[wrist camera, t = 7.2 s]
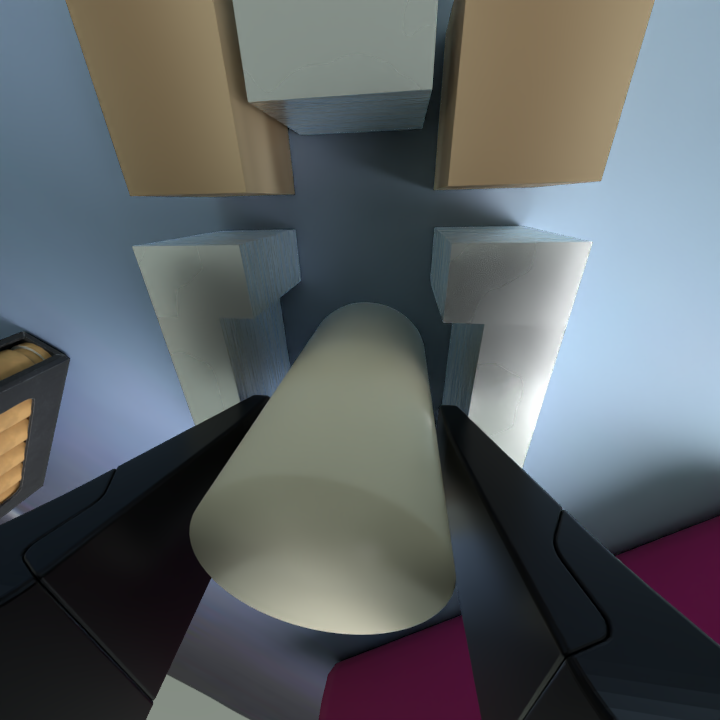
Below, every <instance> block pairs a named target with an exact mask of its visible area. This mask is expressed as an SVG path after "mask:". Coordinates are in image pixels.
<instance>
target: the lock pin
mask: <svg viewBox="0 0 720 720" xmlns="http://www.w3.org/2000/svg"><path fill="white" fill-rule="evenodd" d="M232 1H233V7H234V14H235V20H236V27H237V33H238V40H239V46H240V53H241V59H242V66H243V72H244V79H245V86H246V92H247V99H248V102H249V103H250V104H252V105H253V106H255V107H257V108H258V109H260V110H261V111H263V112H265V113H266V114H268V115H269V116H271V117H273V118H274V119H276V120H277V121H279V122H281V123H282V124H284V125H286V126H287V127H289V128H290V129H292V130H294V131H295V132H297V133H298V134H300V135H318V134H336V133H354V132H372V131H390V130H408V129H422V127H423V123H424V119H425V115H426V112H427V108H428V104H429V100H430V96H431V92H432V86H433V71H434V56H435V41H436V26H437V11H438V0H232Z"/></svg>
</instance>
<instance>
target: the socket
mask: <svg viewBox="0 0 720 720" xmlns="http://www.w3.org/2000/svg"><path fill="white" fill-rule="evenodd" d="M592 243H593V242H591V241H587V240H582V239H578V238H573V237H569V236H564V235H560V234H556V233H551V232H547V231H542V230H538V229H534V228H529V227H525V226H480V227H434V238H433V250H432V262H431V274H430V283H431V287H432V290H433V293H434V296H435V299H436V302H437V306H438V309H439V312H440V315H441V318H442V321H443V323H452V328H451V336H450V344H449V352H448V360H447V368H446V376H445V384H444V393H443V401H442V405H455V406H457V407H459V408H460V409H461V410H462V411H463V412H464V413H465V414H466V415H467V416H468V417H469V418H470V419H471V420H472V421H473V422H474V423H475V424H476V425H477V426H478V427H479V428H480V429H481V430H483V431H484V432H485V433H486V434H487V435H488V436H489V437H490V438H491V439H492V440H493V441H494V442H495V443H496V444H497V445H498V446H499V447H500V448H501V449H502V450H503V451H504V452H505V453H506V454H507V455H509V456H510V457H511V458H512V459H513V460H514V461H515V462H516V463H517V464H518V465H519V466H520V467H521V468H522V467H523V464H524V461H525V458H526V454H527V451H528V448H529V445H530V442H531V438H532V435H533V432H534V429H535V426H536V422H537V419H538V416H539V413H540V410H541V406H542V403H543V400H544V397H545V394H546V390H547V387H548V384H549V381H550V378H551V374H552V371H553V368H554V365H555V362H556V358H557V355H558V352H559V349H560V345H561V342H562V339H563V336H564V333H565V329H566V326H567V323H568V320H569V317H570V313H571V310H572V307H573V304H574V301H575V297H576V294H577V291H578V288H579V285H580V281H581V278H582V275H583V272H584V269H585V265H586V262H587V259H588V256H589V253H590V249H591V246H592ZM132 248H133V251H134V254H135V256H136V259H137V262H138V265H139V268H140V271H141V273H142V276H143V279H144V282H145V285H146V288H147V290H148V293H149V296H150V299H151V302H152V305H153V307H154V310H155V313H156V316H157V319H158V322H159V324H160V327H161V330H162V333H163V336H164V339H165V341H166V344H167V347H168V350H169V353H170V356H171V358H172V361H173V364H174V367H175V370H176V373H177V375H178V378H179V381H180V384H181V387H182V390H183V392H184V395H185V398H186V401H187V404H188V407H189V409H190V412H191V415H192V418H193V421H194V424H195V426H196V425H198V424H199V423H201V422H203V421H205V420H207V419H209V418H211V417H213V416H215V415H216V414H218V413H220V412H222V411H224V410H226V409H228V408H230V407H232V406H234V405H235V404H237V403H239V402H241V401H243V400H245V399H247V398H249V397H251V396H252V395H268V396H269V397H270V398H271V396H272V395H273V393H274V392H275V390H276V389H277V387H278V386H279V384H280V383H281V381H282V380H283V378H284V377H285V375H286V374H287V372H288V371H289V369H290V363H289V356H288V349H287V343H286V336H285V329H284V323H283V316H282V309H281V303H280V297H281V296H283V295H284V294H285V293H286V292H288V291H289V290H290V289H291V288H293V287H294V286H295V285H297V284H298V283H299V282H300V281H301V273H300V265H299V256H298V247H297V238H296V229H289V230H226V231H217V232H211V233H205V234H200V235H194V236H188V237H182V238H177V239H171V240H165V241H159V242H153V243H148V244H142V245H136V246H132Z"/></svg>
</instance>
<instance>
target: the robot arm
mask: <svg viewBox="0 0 720 720" xmlns="http://www.w3.org/2000/svg"><path fill="white" fill-rule="evenodd" d="M269 399H270V397H269V396H268V395H252V396H251V397H249V398H247V399H245V400H243V401H241V402H239V403H237V404H235V405H234V406H232V407H230V408H228V409H226V410H224V411H222V412H220V413H218V414H216V415H215V416H213V417H211V418H209V419H207V420H205V421H203V422H201V423H199V424H198V425H196V426H194V427H192V428H190V429H188V430H186V431H184V432H182V433H181V434H179V435H177V436H175V437H173V438H171V439H169V440H167V441H165V442H163V443H162V444H160V445H158V446H156V447H154V448H152V449H150V450H148V451H146V452H145V453H143V454H141V455H139V456H137V457H135V458H133V459H131V460H129V461H127V462H126V463H124V464H122V465H120V466H118V467H117V469H112V470H110V471H108V472H106V473H105V474H103V475H101V476H99V477H97V478H95V479H93V480H91V481H89V482H87V483H85V484H84V485H82V486H80V487H78V488H76V489H74V490H72V491H70V492H68V493H66V494H64V495H62V496H60V497H58V498H56V499H54V500H52V501H50V502H48V503H45V504H43V505H41V506H39V507H37V508H35V509H33V510H31V511H29V512H27V513H25V514H23V515H20V516H18V517H16V518H14V519H12V520H10V521H8V522H6V523H4V524H1V525H0V720H146V718H147V716H148V714H149V712H150V710H151V707H152V705H153V700H154V699H155V698H156V696H157V694H158V692H159V689H160V687H161V685H162V683H163V681H164V679H165V677H166V674H167V672H168V670H169V668H170V666H171V664H172V661H173V659H174V657H175V655H176V653H177V651H178V649H179V646H180V644H181V642H182V640H183V638H184V636H185V633H186V631H187V629H188V627H189V625H190V623H191V620H192V618H193V616H194V614H195V612H196V610H197V608H198V605H199V603H200V601H201V599H202V597H203V595H204V592H205V590H206V588H207V586H208V584H209V582H210V580H211V576H210V575H209V574H208V573H207V572H206V571H205V569H204V568H203V567H202V566H201V564H200V563H199V561H198V559H197V557H196V556H195V554H194V551H193V548H192V546H191V541H190V535H189V532H190V522H191V519H192V515H193V514H194V512H195V510H196V508H197V507H198V505H199V504H200V502H201V501H202V499H203V498H204V496H205V495H206V493H207V492H208V490H209V489H210V487H211V486H212V484H213V483H214V481H215V480H216V478H217V477H218V475H219V474H220V472H221V471H222V469H223V468H224V466H225V465H226V463H227V462H228V460H229V459H230V457H231V456H232V454H233V453H234V451H235V450H236V448H237V447H238V445H239V444H240V442H241V441H242V439H243V438H244V437H245V435H246V434H247V432H248V431H249V429H250V428H251V426H252V425H253V423H254V422H255V420H256V419H257V417H258V416H259V414H260V413H261V411H262V410H263V408H264V407H265V405H266V404H267V402H268V401H269ZM436 435H437V442H438V449H439V456H440V464H441V471H442V478H443V485H444V493H445V500H446V507H447V514H448V522H449V529H450V536H451V543H452V550H453V558H454V565H455V572H456V586H457V591H458V596H459V602H460V607H461V612H462V618H463V623H464V628H465V634H466V639H467V645H468V650H469V655H470V661H471V666H472V671H473V677H474V682H475V687H476V693H477V698H478V704H479V709H480V714H481V720H720V645H719V644H718V643H716V642H715V641H714V640H713V639H712V638H710V637H709V636H708V635H707V634H706V633H705V632H703V631H702V630H701V629H700V628H699V627H697V626H696V625H695V624H694V623H693V622H691V621H690V620H689V619H688V618H687V617H686V616H684V615H683V614H682V613H681V612H680V611H678V610H677V609H676V608H675V607H674V606H672V605H671V604H670V603H669V602H668V601H666V600H665V599H664V598H663V597H662V596H661V595H659V594H658V593H657V592H656V591H655V590H653V589H652V588H651V587H650V586H649V585H648V584H646V583H645V582H644V581H643V580H642V579H641V578H639V577H638V576H637V575H636V574H635V573H634V572H632V571H631V570H630V569H629V568H628V567H627V566H626V565H624V564H623V563H622V562H621V561H620V560H619V559H617V558H616V557H615V556H614V555H613V554H612V553H611V552H610V551H609V550H607V549H606V548H605V547H604V546H603V545H602V544H601V543H600V542H599V541H598V540H597V539H596V538H594V537H593V536H592V535H591V534H590V533H589V532H588V531H587V530H586V529H585V528H584V527H583V526H582V525H580V524H579V523H578V522H577V521H576V520H575V519H574V518H573V517H572V516H571V515H570V514H569V513H568V512H567V511H566V510H562V507H561V505H559V504H558V503H557V502H556V501H555V500H554V499H553V498H552V497H551V496H550V495H549V494H548V493H547V492H546V491H545V490H544V489H543V488H542V487H541V486H540V485H539V484H538V483H537V482H536V481H535V480H533V479H532V478H531V477H530V476H529V475H528V474H527V473H526V472H525V471H524V470H523V469H522V468H521V467H520V466H519V465H518V464H517V463H516V462H515V461H514V460H513V459H512V458H511V457H510V456H509V455H507V454H506V453H505V452H504V451H503V450H502V449H501V448H500V447H499V446H498V445H497V444H496V443H495V442H494V441H493V440H492V439H491V438H490V437H489V436H488V435H487V434H486V433H485V432H484V431H483V430H481V429H480V428H479V427H478V426H477V425H476V424H475V423H474V422H473V421H472V420H471V419H470V418H469V417H468V416H467V415H466V414H465V413H464V412H463V411H462V410H461V409H460V408H459V407H457V406H455V405H440V407H439V411H438V420H437V428H436Z"/></svg>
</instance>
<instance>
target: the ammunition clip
mask: <svg viewBox="0 0 720 720" xmlns="http://www.w3.org/2000/svg"><path fill="white" fill-rule="evenodd" d="M69 362H70V358H68V357H67V356H66V355H64V354H62V353H61V352H59V351H57V350H55V349H54V348H52V347H50V346H49V345H47V344H45V343H43V342H42V341H40V340H38V339H36V338H35V337H33V336H31V335H29V334H28V333H26V332H24V331H23V332H20V333H18V334H15V335H12V336H10V337H7V338H4V339H2V340H0V518H2V517H3V516H4V515H6V514H7V513H8V512H10V511H11V510H12V509H13V508H15V507H16V506H17V505H19V504H20V503H21V502H22V501H24V500H25V499H26V498H28V497H29V496H30V495H31V494H33V493H34V492H35V491H37V490H38V489H39V488H41V487H42V486H43V483H44V479H45V474H46V469H47V465H48V460H49V455H50V451H51V446H52V441H53V437H54V432H55V427H56V423H57V418H58V413H59V409H60V404H61V399H62V395H63V390H64V385H65V380H66V376H67V371H68V366H69Z"/></svg>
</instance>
